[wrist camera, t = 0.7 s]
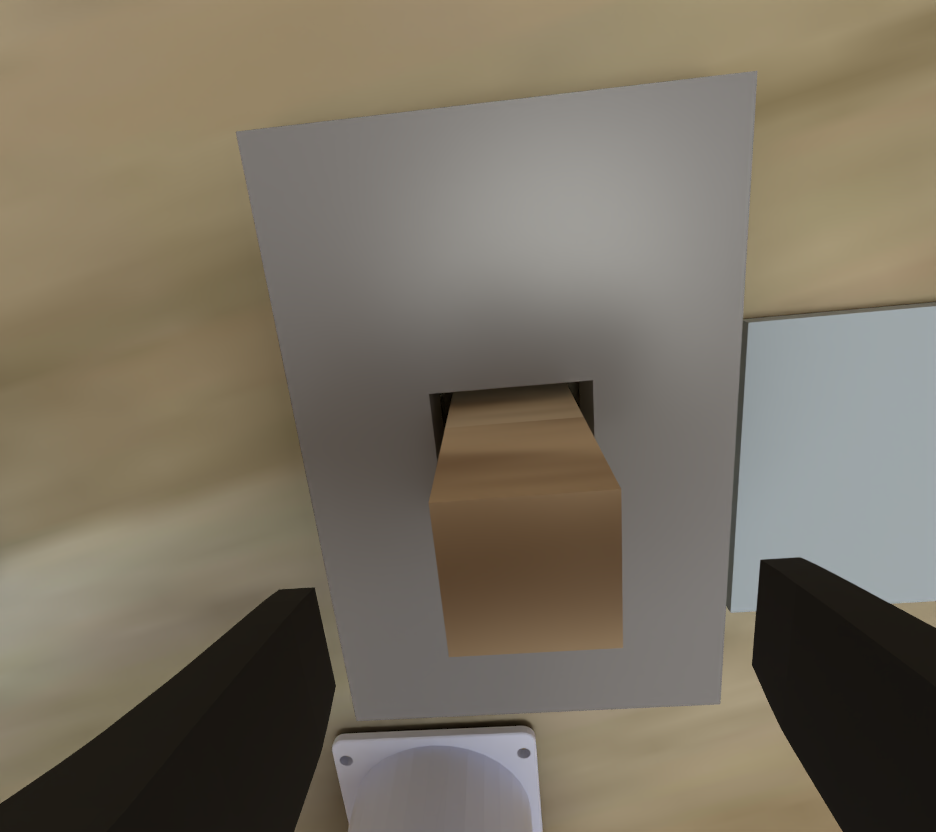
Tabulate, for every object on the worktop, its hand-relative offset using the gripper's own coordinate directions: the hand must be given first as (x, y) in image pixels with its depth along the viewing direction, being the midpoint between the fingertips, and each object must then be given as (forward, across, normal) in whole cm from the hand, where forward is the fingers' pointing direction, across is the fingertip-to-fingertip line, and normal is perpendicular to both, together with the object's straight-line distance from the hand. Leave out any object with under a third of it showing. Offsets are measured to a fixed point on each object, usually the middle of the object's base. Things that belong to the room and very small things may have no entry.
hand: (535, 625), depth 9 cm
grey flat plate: (+9, 0, 0) cm, 9 cm away
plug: (+9, 0, 0) cm, 9 cm away
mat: (+9, -12, +2) cm, 15 cm away
